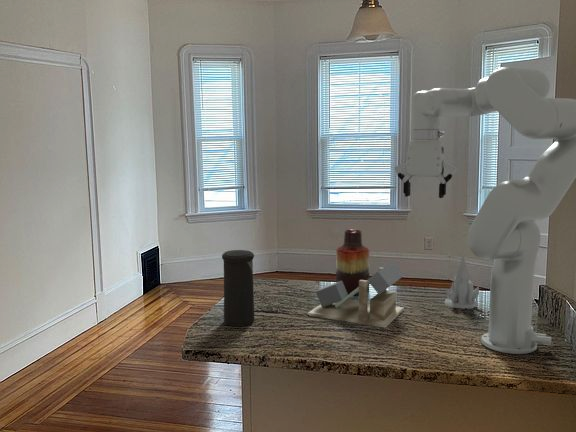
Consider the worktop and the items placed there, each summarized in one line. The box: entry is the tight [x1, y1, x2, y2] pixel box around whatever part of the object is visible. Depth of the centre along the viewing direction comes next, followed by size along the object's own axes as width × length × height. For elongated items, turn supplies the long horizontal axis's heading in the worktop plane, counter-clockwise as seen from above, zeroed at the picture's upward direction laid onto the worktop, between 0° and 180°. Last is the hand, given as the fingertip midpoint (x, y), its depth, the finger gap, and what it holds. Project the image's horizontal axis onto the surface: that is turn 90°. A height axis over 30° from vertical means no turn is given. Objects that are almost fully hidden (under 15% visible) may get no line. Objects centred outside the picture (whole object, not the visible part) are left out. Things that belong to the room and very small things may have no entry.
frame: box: [307, 267, 405, 328], centre depth 160 cm, size 23×18×12 cm
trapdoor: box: [335, 261, 404, 308], centre depth 157 cm, size 16×14×5 cm
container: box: [221, 249, 255, 327], centre depth 152 cm, size 9×9×20 cm
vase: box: [335, 229, 371, 297], centre depth 181 cm, size 11×11×20 cm
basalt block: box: [315, 280, 348, 308], centre depth 163 cm, size 5×5×7 cm
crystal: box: [444, 256, 480, 310], centre depth 168 cm, size 10×13×15 cm
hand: (424, 196), depth 158 cm, fingers open, 9 cm apart
